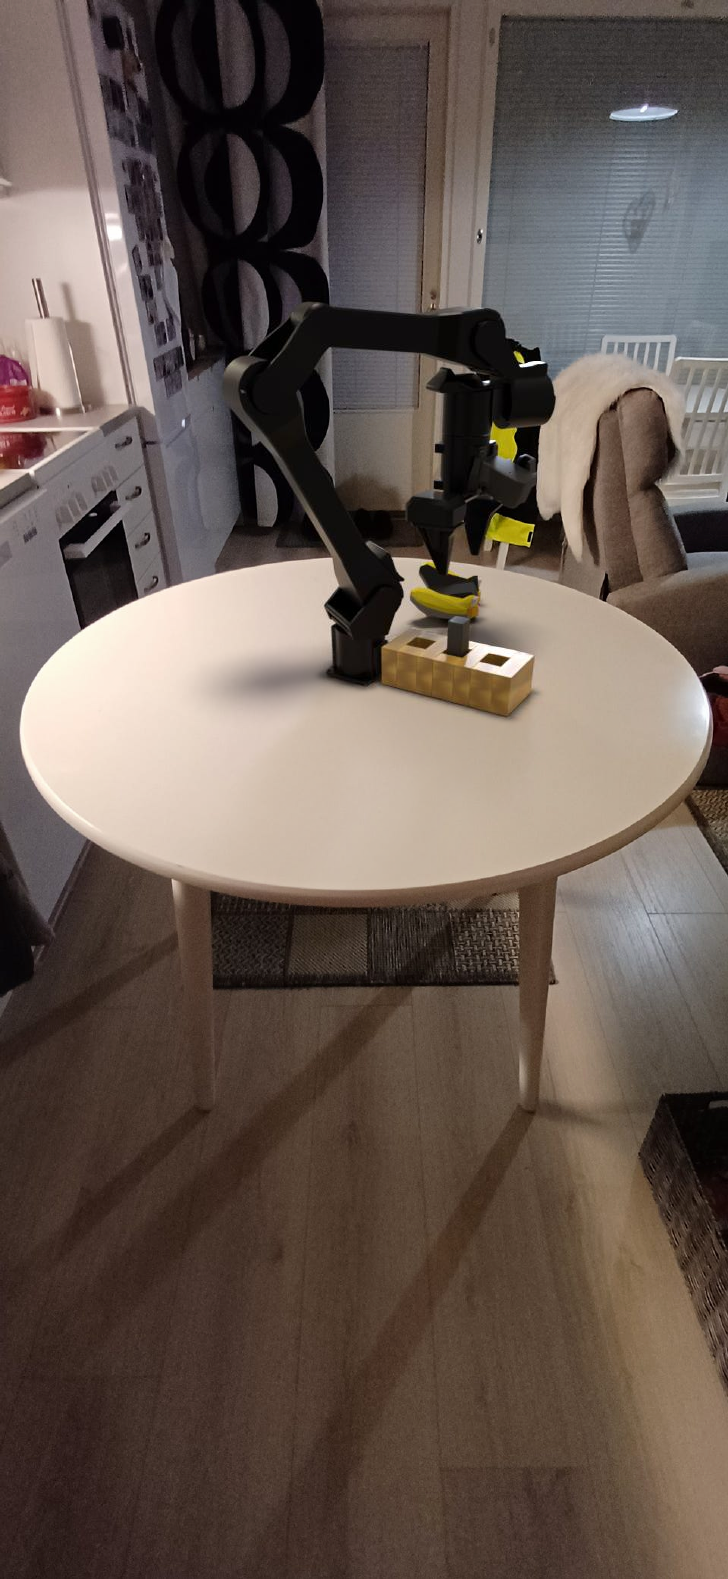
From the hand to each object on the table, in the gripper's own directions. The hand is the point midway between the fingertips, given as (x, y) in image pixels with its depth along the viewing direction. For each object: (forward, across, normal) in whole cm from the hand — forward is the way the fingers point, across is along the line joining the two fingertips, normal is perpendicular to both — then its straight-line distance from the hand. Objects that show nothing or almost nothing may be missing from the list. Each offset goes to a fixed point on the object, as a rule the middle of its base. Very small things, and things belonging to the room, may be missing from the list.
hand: (459, 564), depth 99 cm
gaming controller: (+12, +13, +8) cm, 20 cm away
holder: (+12, -10, -5) cm, 16 cm away
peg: (+12, -10, -5) cm, 16 cm away
